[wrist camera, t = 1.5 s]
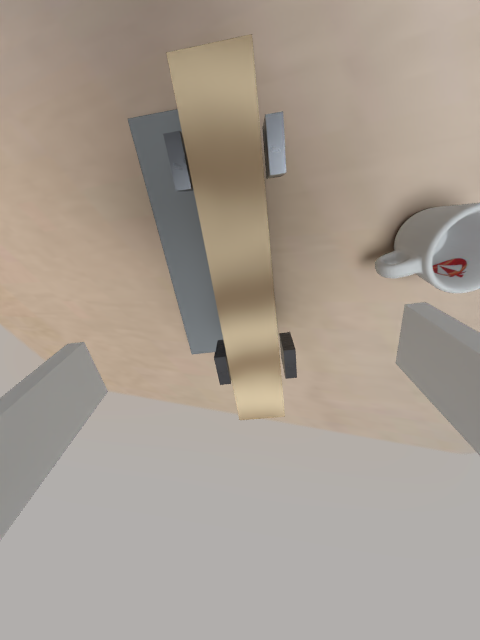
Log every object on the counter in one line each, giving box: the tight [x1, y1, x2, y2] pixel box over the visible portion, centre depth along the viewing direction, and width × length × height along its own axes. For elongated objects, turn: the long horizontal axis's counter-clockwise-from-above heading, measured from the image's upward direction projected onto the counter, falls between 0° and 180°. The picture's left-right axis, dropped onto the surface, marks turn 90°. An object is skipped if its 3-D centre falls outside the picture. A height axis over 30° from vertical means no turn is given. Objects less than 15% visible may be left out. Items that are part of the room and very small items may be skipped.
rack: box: [163, 112, 297, 385], centre depth 24 cm, size 22×7×13 cm, turn 8°
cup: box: [375, 203, 480, 293], centre depth 26 cm, size 11×8×8 cm
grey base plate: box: [128, 109, 223, 354], centre depth 30 cm, size 28×6×1 cm, turn 8°
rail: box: [166, 34, 285, 420], centre depth 19 cm, size 24×4×5 cm, turn 8°
